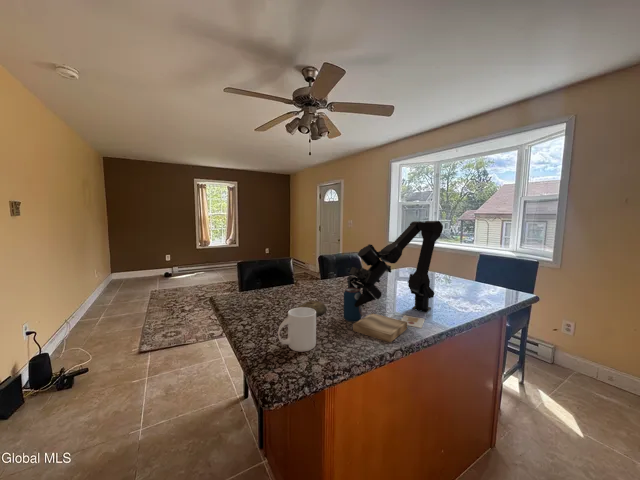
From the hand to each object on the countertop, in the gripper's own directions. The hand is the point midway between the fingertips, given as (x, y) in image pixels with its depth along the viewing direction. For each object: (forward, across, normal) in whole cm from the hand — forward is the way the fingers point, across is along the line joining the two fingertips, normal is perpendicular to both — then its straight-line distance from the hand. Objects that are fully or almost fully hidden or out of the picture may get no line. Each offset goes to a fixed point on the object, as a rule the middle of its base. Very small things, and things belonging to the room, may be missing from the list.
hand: (349, 302), depth 101 cm
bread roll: (+13, -14, -2) cm, 19 cm away
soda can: (+4, 0, +6) cm, 7 cm away
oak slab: (0, +12, +9) cm, 15 cm away
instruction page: (-11, +10, +20) cm, 25 cm away
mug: (+23, +14, -13) cm, 30 cm away
